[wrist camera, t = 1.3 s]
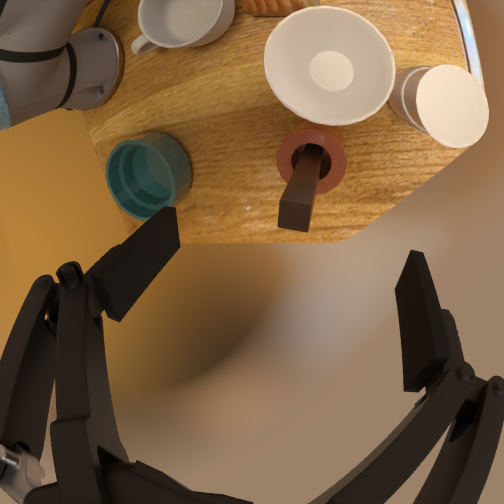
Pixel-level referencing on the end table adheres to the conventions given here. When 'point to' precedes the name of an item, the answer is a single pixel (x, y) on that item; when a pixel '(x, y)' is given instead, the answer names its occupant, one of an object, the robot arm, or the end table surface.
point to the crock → (332, 155)
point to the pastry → (276, 6)
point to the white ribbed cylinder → (441, 103)
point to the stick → (301, 190)
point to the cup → (329, 65)
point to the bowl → (148, 174)
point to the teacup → (181, 23)
